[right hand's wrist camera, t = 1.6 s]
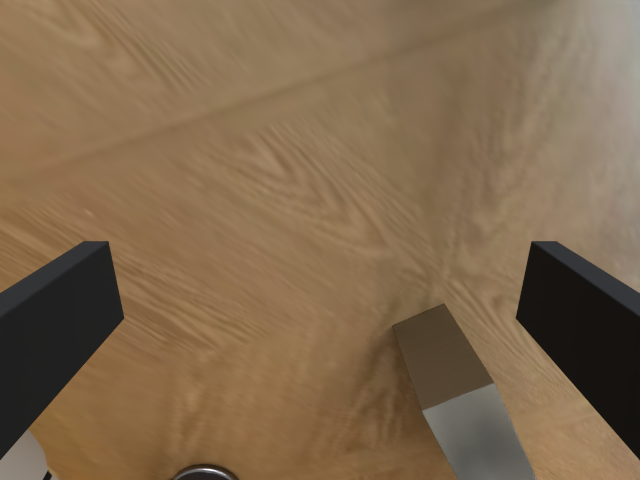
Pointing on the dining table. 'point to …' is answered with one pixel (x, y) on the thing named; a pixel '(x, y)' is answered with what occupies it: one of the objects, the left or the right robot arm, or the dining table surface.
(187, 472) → the left robot arm
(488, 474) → the box
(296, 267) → the dining table surface
